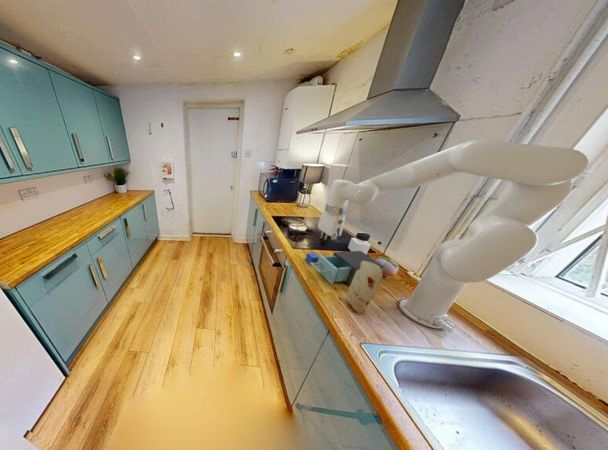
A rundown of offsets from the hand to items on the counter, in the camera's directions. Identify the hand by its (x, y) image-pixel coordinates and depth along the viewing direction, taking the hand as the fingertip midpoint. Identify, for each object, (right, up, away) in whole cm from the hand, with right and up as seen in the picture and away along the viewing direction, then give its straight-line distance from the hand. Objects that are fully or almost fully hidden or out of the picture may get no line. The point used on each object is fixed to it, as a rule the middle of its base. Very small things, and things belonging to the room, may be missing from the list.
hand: (323, 245), depth 92 cm
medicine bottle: (+34, -6, +24) cm, 43 cm away
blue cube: (+2, -10, +13) cm, 17 cm away
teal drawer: (+5, -14, +2) cm, 15 cm away
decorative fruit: (+32, -15, +5) cm, 36 cm away
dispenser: (+16, -15, +4) cm, 22 cm away
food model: (+4, -23, -14) cm, 27 cm away
